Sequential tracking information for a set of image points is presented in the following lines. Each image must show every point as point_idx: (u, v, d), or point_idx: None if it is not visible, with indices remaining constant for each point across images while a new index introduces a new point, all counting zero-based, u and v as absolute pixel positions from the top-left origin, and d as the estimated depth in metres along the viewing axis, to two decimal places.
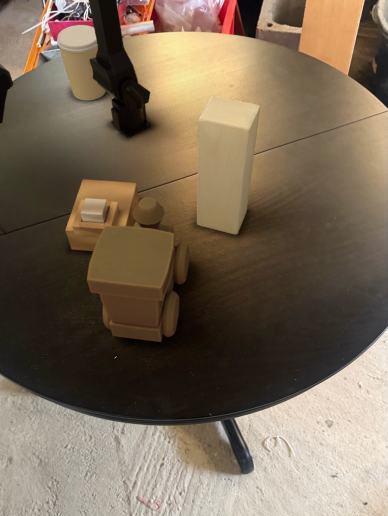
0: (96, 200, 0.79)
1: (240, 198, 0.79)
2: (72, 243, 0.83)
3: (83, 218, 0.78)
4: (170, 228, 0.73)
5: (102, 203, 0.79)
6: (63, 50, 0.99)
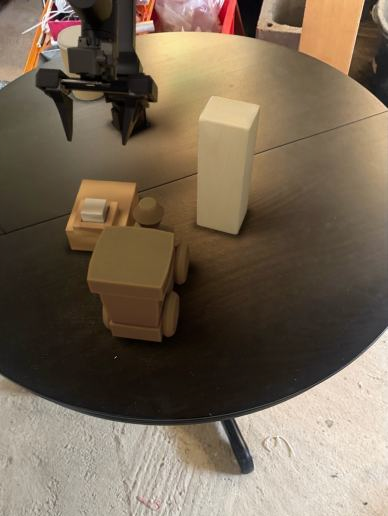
0: (96, 200, 0.79)
1: (240, 198, 0.79)
2: (72, 243, 0.83)
3: (83, 218, 0.78)
4: (170, 228, 0.73)
5: (102, 203, 0.79)
6: (63, 50, 0.99)
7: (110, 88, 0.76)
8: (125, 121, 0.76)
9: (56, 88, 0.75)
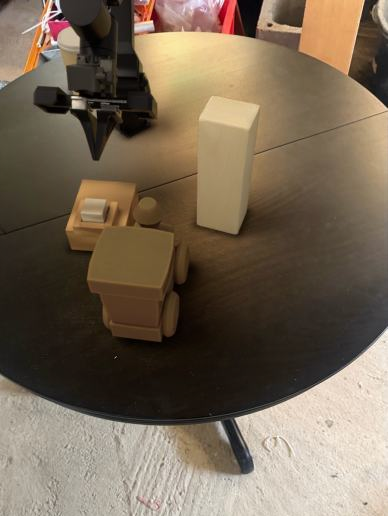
0: (96, 200, 0.79)
1: (240, 198, 0.79)
2: (72, 243, 0.83)
3: (83, 218, 0.78)
4: (170, 228, 0.73)
5: (102, 203, 0.79)
6: (63, 50, 0.99)
7: None
8: (97, 136, 0.75)
9: (82, 107, 0.74)
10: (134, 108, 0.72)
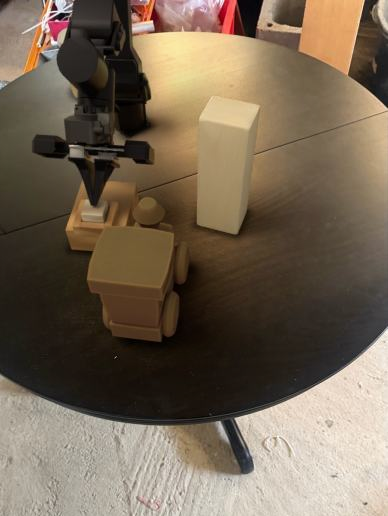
0: None
1: (240, 198, 0.79)
2: (72, 243, 0.83)
3: (83, 219, 0.79)
4: (170, 228, 0.73)
5: (103, 204, 0.79)
6: None
7: None
8: (95, 183, 0.76)
9: (80, 155, 0.75)
10: (131, 157, 0.73)
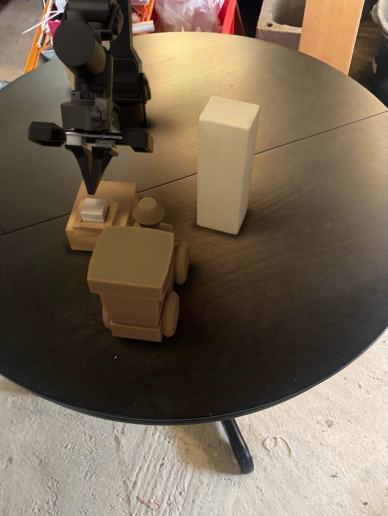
0: (96, 200, 0.79)
1: (240, 198, 0.79)
2: (72, 243, 0.83)
3: (83, 218, 0.78)
4: (170, 228, 0.73)
5: (102, 203, 0.79)
6: None
7: None
8: (93, 171, 0.74)
9: (77, 143, 0.73)
10: (130, 144, 0.71)
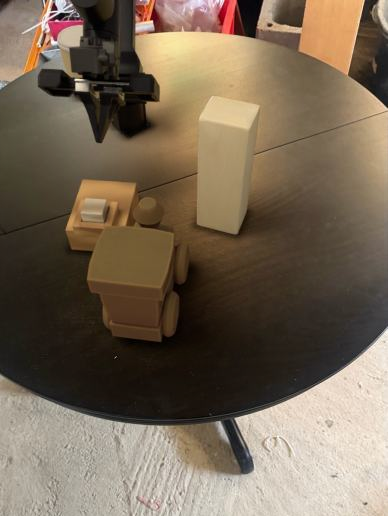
0: (96, 200, 0.79)
1: (240, 198, 0.79)
2: (72, 243, 0.83)
3: (83, 218, 0.78)
4: (170, 228, 0.73)
5: (102, 203, 0.79)
6: (63, 50, 0.99)
7: None
8: (100, 119, 0.76)
9: (85, 90, 0.75)
10: (136, 90, 0.73)
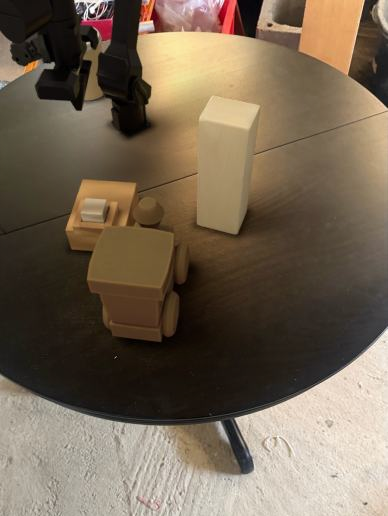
0: (96, 200, 0.79)
1: (240, 198, 0.79)
2: (72, 243, 0.83)
3: (83, 218, 0.78)
4: (170, 228, 0.73)
5: (102, 203, 0.79)
6: None
7: None
8: None
9: None
10: None
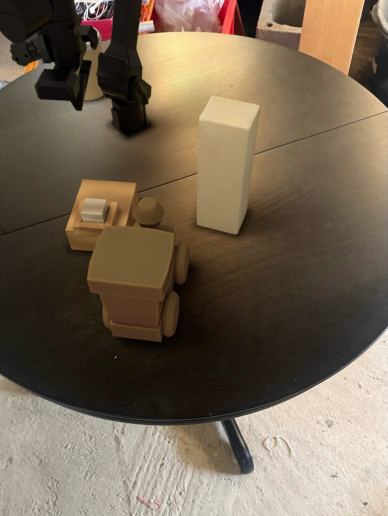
0: (96, 200, 0.79)
1: (240, 198, 0.79)
2: (72, 243, 0.83)
3: (83, 218, 0.78)
4: (170, 228, 0.73)
5: (102, 203, 0.79)
6: None
7: None
8: None
9: None
10: None
